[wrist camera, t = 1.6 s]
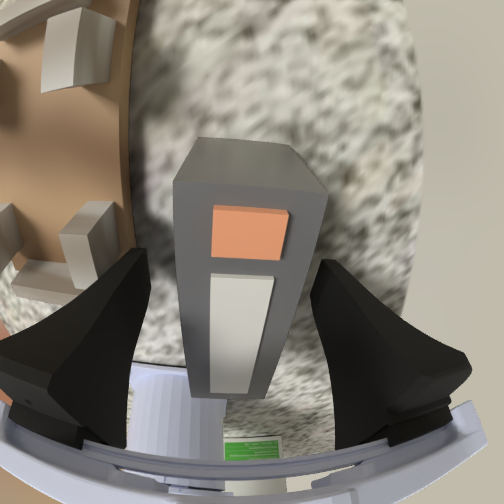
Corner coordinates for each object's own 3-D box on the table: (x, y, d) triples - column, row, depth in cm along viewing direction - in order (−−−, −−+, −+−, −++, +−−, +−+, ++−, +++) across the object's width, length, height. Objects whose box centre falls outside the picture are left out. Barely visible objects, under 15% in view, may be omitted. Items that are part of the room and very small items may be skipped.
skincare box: (282, 433, 29) (295, 537, 17) (279, 444, 33) (290, 532, 20) (217, 437, 29) (221, 541, 16) (223, 448, 33) (227, 536, 20)
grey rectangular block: (256, 321, 16) (264, 403, 11) (197, 319, 15) (191, 402, 11) (287, 143, 10) (332, 198, 6) (199, 136, 10) (170, 185, 5)
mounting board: (140, 270, 13) (121, 324, 10) (23, 259, 12) (-6, 299, 9) (143, -15, 5) (107, -46, 2) (-2, 35, 4) (-50, 40, 2)
